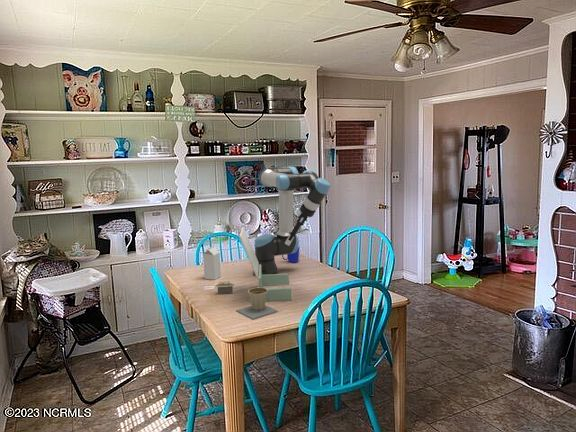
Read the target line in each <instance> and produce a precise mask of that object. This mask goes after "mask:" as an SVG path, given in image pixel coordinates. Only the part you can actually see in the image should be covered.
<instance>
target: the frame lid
mask: <svg viewBox="0 0 576 432" xmlns="http://www.w3.org/2000/svg"><path fill="white" fill-rule="evenodd" d="M239 240H240V242H241V245H242V246H243V250H244V251H245V253H246V256H247V258H248V261H249V264H250V265H251V268H252V271H253V270H254V273H255V275H256V276H255V275H254V276H255V277H256V278H258V277H259V276H258V266H259V262H258V260H257V258H256V255H255V250H254V249H253V246H252V244H251V242H250V239H249V237H248V234H247V231H246V230H245V227H244V226H241V230H240V233H239Z"/></svg>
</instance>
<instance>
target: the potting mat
mask: <svg viewBox="0 0 576 432" xmlns="http://www.w3.org/2000/svg"><path fill="white" fill-rule="evenodd" d="M235 311H236V312H237V313H238V314H241V315H242V316H244V317H247V318H249V319H251V320H257V319H259V318H264V317H266V316H269V315H272V314H274V313H278V312H279V310H277V309H276V308H273V307H271V306H269V305H266V304H265V308H264V309H262V310H254V309H252V305H249V306H246V307H242V308H239V309H236V310H235Z"/></svg>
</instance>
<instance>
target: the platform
mask: <svg viewBox="0 0 576 432" xmlns="http://www.w3.org/2000/svg"><path fill="white" fill-rule="evenodd" d="M233 287H235V283H231V282H230V281H228V280H227V281H225V280H224V281H220V282H218V283H217V284H215V288H217V294H218V295H222V294H223V295H224V294H225V295H226V294H233V293H234V290H233V289H234V288H233Z"/></svg>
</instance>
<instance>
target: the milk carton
mask: <svg viewBox="0 0 576 432" xmlns="http://www.w3.org/2000/svg"><path fill="white" fill-rule="evenodd" d="M202 256H203V258H202V259H203V272H204V273H203V275H204V279H205V280H213V281H214V280H218V279H219V278H221V276H222V274H221V273H222V272H221V259H220V258H221V257H220V256H221V255H220V251H219V250H218V249H217V248H216V247H215V245H211V246H210V247H207V249H206V250H205V251H204V253H203V254H202Z"/></svg>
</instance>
